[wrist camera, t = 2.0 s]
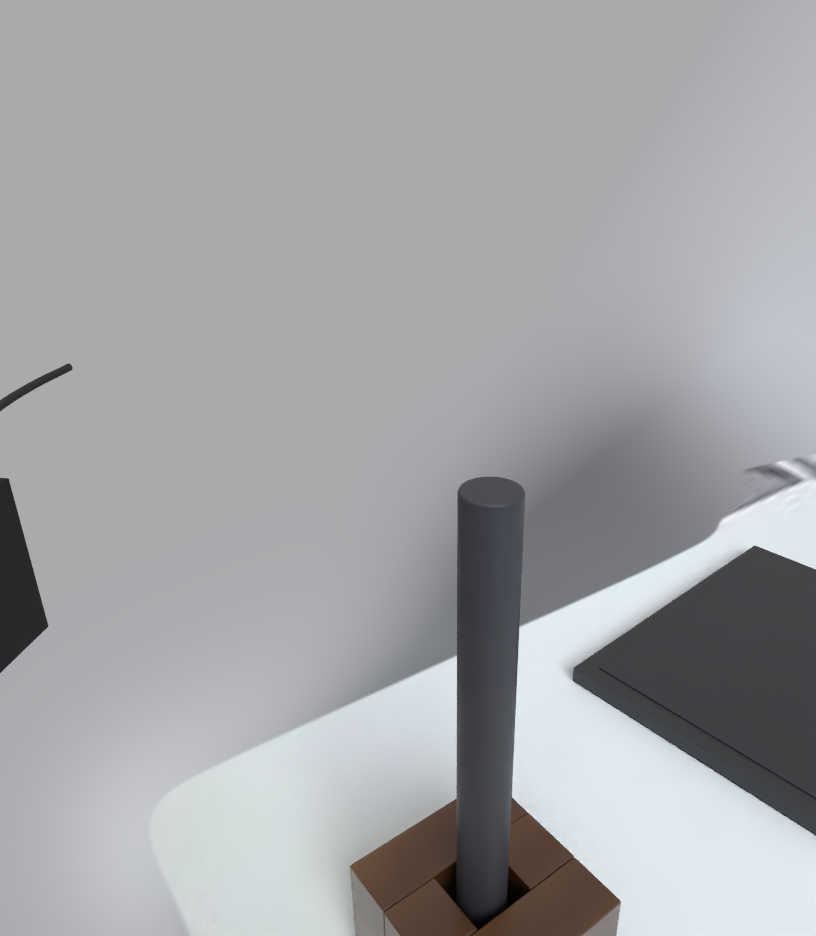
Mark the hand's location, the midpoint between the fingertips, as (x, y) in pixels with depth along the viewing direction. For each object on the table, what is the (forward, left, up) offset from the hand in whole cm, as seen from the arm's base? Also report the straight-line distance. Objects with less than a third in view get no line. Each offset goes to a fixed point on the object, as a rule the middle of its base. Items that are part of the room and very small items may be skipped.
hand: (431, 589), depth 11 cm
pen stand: (-9, +2, -23) cm, 25 cm away
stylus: (-9, +2, -23) cm, 25 cm away
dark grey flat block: (-25, +22, -23) cm, 40 cm away
